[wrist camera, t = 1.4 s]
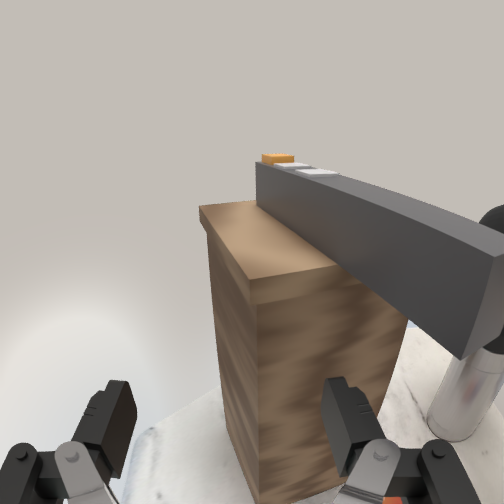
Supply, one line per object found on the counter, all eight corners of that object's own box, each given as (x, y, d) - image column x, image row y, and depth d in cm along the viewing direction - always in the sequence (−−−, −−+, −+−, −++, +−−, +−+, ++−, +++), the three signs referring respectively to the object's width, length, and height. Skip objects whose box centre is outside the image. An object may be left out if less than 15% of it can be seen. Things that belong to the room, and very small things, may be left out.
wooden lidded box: (304, 404, 45) (321, 194, 33) (353, 482, 31) (433, 246, 19) (222, 425, 42) (198, 205, 30) (256, 516, 28) (249, 279, 16)
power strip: (286, 202, 30) (286, 153, 28) (499, 335, 10) (531, 227, 8) (256, 205, 29) (255, 154, 28) (460, 360, 9) (499, 235, 7)
